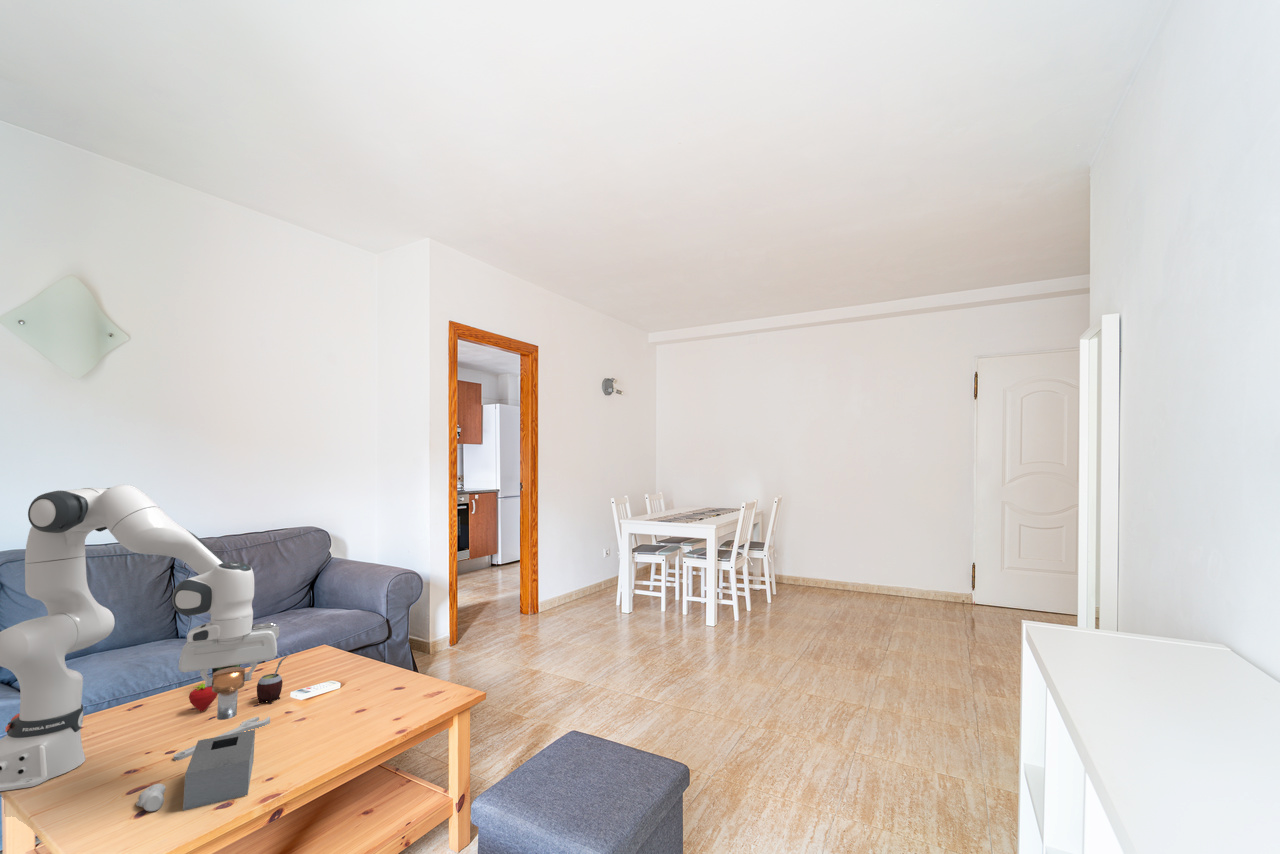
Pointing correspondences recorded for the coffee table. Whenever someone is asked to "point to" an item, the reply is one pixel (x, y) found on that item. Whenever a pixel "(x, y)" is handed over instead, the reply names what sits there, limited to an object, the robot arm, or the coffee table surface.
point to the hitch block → (219, 769)
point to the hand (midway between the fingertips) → (228, 683)
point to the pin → (227, 690)
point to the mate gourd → (270, 686)
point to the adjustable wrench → (243, 727)
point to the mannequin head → (152, 798)
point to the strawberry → (202, 697)
